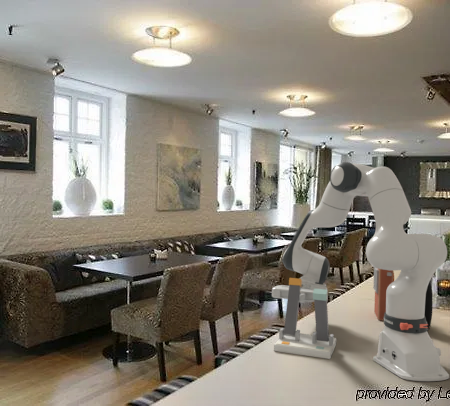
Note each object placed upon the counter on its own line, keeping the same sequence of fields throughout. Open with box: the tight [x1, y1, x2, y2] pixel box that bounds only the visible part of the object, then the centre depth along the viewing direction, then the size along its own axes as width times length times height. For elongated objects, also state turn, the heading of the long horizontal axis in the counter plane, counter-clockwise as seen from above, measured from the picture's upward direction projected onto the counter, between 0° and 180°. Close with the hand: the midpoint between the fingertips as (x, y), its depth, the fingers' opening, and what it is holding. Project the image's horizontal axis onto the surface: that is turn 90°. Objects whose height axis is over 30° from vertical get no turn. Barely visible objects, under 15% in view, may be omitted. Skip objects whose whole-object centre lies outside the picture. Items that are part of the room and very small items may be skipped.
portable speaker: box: [424, 278, 434, 332], centre depth 170 cm, size 9×9×20 cm
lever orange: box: [283, 277, 302, 337], centre depth 155 cm, size 2×4×20 cm, turn 69°
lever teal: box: [313, 289, 330, 342], centre depth 144 cm, size 2×4×20 cm, turn 69°
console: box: [273, 327, 337, 360], centre depth 150 cm, size 15×18×5 cm
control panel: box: [372, 267, 395, 322], centre depth 188 cm, size 21×7×15 cm
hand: (295, 298), depth 159 cm, fingers closed
